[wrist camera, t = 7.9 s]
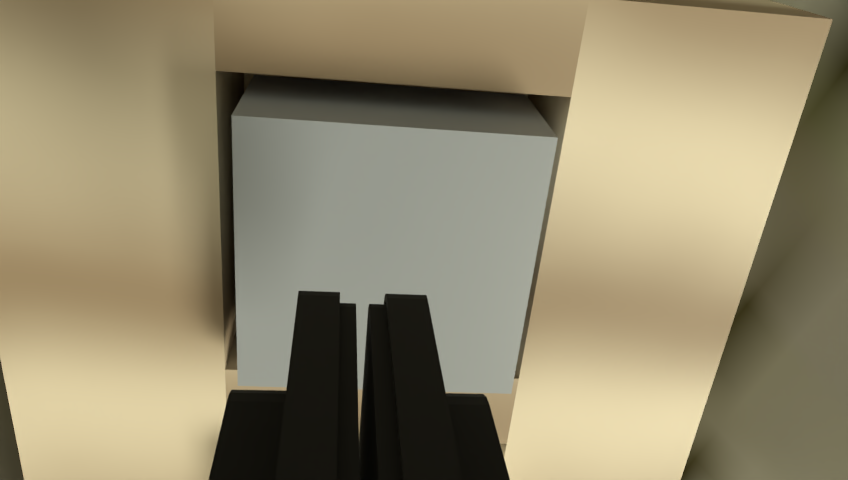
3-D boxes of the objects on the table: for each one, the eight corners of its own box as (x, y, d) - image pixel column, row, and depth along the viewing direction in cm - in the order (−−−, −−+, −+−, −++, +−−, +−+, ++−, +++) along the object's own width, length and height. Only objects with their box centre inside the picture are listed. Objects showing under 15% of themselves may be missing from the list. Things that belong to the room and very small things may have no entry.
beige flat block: (31, -79, 14) (-83, -63, 10) (724, -14, 15) (832, 18, 12) (133, 696, 24) (94, 836, 21) (539, 690, 26) (567, 819, 22)
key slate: (253, 74, 13) (231, 115, 11) (526, 94, 14) (557, 137, 11) (255, 311, 15) (237, 385, 13) (490, 320, 16) (510, 393, 14)
